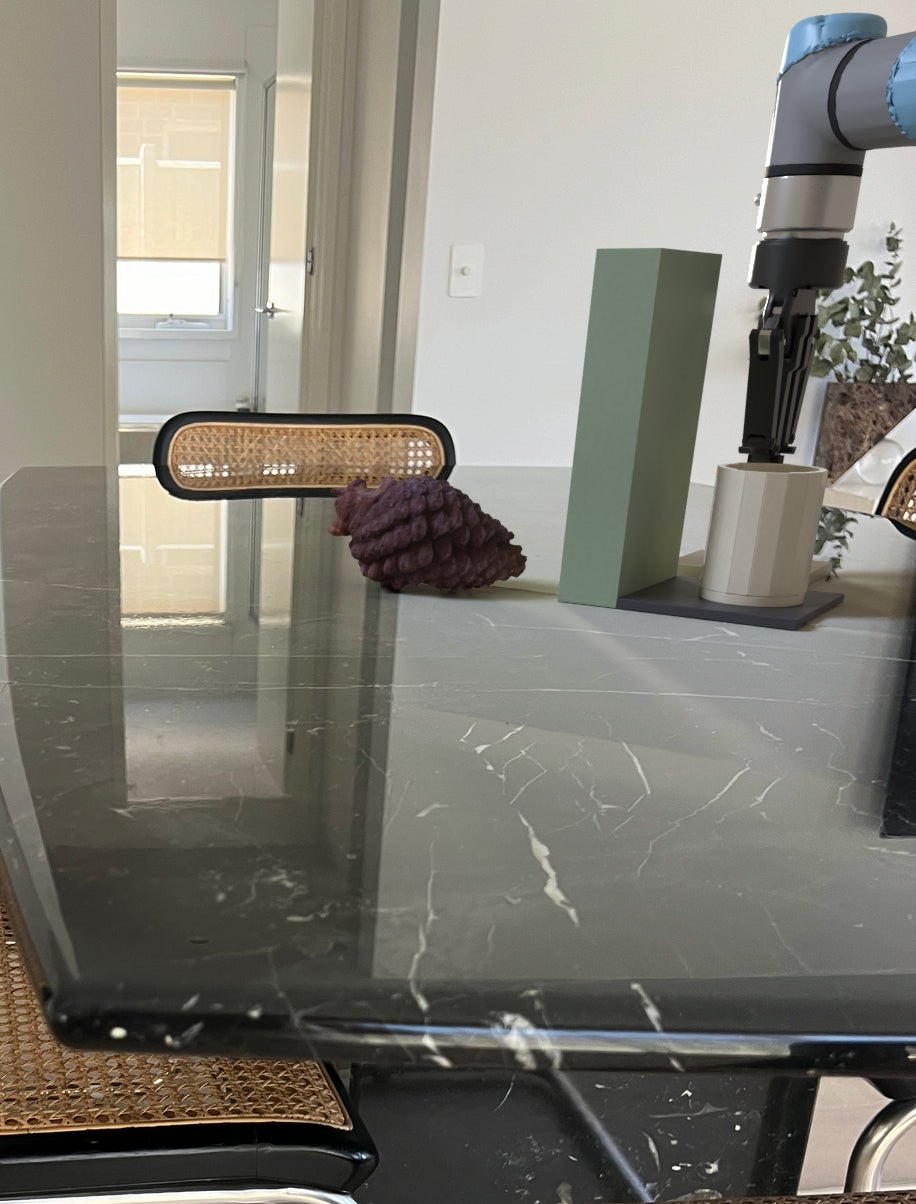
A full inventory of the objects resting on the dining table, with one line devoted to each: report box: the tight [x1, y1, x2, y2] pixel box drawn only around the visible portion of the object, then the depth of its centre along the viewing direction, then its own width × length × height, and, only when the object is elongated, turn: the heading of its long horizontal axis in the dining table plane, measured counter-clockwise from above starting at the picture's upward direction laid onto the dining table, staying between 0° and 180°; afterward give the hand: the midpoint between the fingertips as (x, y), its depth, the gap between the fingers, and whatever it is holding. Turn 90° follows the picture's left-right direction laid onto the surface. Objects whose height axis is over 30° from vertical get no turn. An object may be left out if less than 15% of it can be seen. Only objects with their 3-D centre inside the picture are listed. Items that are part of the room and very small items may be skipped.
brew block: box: [676, 549, 834, 587], centre depth 132 cm, size 12×10×3 cm
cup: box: [699, 462, 829, 607], centre depth 116 cm, size 8×8×10 cm
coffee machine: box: [556, 247, 845, 631], centre depth 115 cm, size 19×14×26 cm
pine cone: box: [326, 474, 528, 591], centre depth 123 cm, size 18×10×10 cm
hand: (753, 531), depth 131 cm, fingers closed
